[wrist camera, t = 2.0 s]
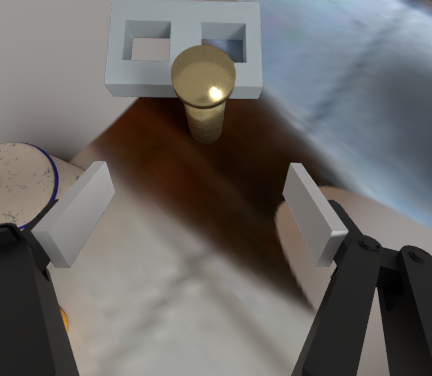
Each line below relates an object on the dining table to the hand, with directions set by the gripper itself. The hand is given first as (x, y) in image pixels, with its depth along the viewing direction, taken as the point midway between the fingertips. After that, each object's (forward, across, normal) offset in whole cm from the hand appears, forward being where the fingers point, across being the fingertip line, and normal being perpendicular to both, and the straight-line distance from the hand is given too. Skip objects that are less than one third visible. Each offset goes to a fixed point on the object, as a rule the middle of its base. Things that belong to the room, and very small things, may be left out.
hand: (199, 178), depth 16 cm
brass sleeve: (+18, 0, -3) cm, 18 cm away
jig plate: (+27, -3, +6) cm, 27 cm away
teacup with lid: (+11, -18, -11) cm, 23 cm away
